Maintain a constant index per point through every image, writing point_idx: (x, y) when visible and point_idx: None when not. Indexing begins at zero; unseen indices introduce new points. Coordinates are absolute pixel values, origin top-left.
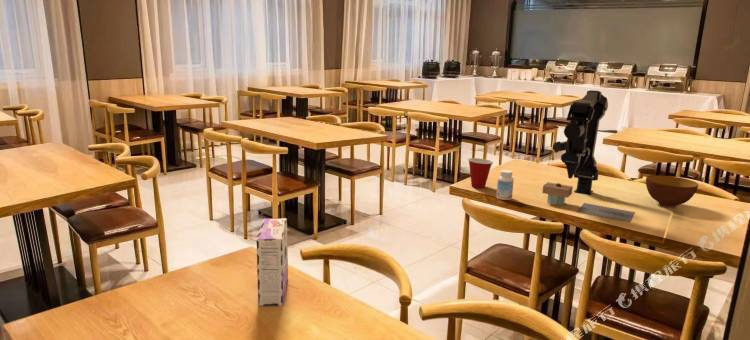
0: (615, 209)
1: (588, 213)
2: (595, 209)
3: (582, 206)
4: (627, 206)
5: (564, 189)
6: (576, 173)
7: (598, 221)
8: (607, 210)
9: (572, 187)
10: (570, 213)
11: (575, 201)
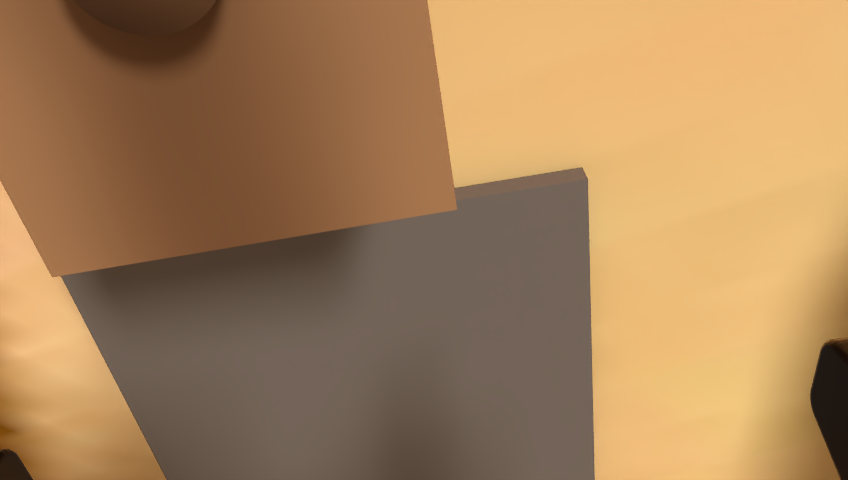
0: (561, 468)
1: (155, 371)
2: (392, 361)
3: (391, 225)
4: (815, 463)
5: (7, 193)
6: (814, 377)
7: (53, 477)
8: (460, 439)
9: (428, 202)
10: (2, 206)
11: (667, 18)
